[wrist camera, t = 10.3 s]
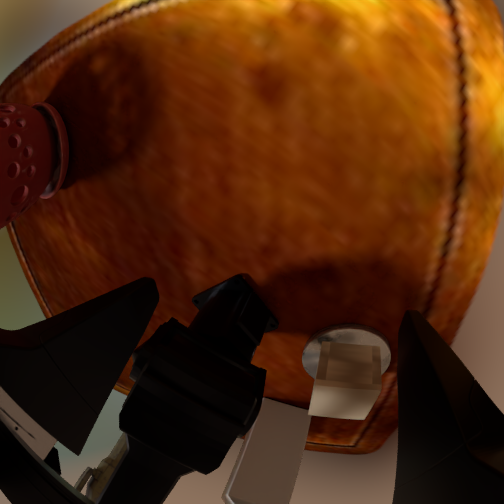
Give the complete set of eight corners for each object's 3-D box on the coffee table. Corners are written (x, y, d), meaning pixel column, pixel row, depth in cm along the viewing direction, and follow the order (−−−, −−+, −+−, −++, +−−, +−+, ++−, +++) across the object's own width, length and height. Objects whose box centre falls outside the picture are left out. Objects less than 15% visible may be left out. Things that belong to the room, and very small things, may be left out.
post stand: (327, 386, 29) (321, 418, 25) (287, 340, 26) (277, 375, 23) (400, 365, 24) (402, 400, 20) (371, 310, 22) (373, 348, 18)
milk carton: (313, 410, 32) (278, 536, 16) (296, 427, 36) (263, 533, 20) (264, 395, 33) (215, 522, 17) (253, 414, 37) (210, 520, 21)
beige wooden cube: (315, 375, 27) (307, 414, 22) (322, 340, 24) (314, 384, 20) (366, 380, 25) (364, 419, 21) (380, 346, 22) (381, 390, 18)
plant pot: (96, 146, 22) (-10, 189, 12) (56, 213, 28) (-14, 259, 19) (50, 69, 19) (-39, 87, 9) (18, 143, 25) (-49, 173, 15)
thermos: (189, 413, 44) (112, 555, 15) (140, 375, 42) (45, 520, 13) (217, 409, 39) (132, 577, 10) (161, 366, 37) (50, 542, 8)
